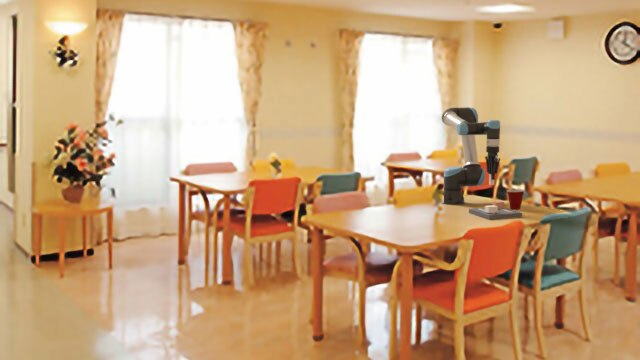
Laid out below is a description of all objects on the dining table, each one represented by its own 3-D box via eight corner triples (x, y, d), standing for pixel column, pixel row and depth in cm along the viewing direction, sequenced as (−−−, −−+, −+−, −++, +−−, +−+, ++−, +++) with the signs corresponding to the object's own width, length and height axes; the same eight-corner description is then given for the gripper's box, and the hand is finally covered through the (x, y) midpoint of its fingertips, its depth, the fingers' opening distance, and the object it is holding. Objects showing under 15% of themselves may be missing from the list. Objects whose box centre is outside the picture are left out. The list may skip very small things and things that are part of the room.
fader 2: (491, 207, 389) (492, 201, 388) (500, 206, 391) (500, 200, 390) (495, 208, 385) (495, 202, 385) (504, 207, 387) (504, 202, 386)
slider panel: (468, 212, 388) (468, 208, 387) (500, 210, 394) (500, 205, 394) (489, 219, 367) (489, 214, 367) (522, 217, 374) (522, 212, 373)
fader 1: (484, 211, 375) (484, 205, 374) (493, 211, 376) (493, 205, 376) (488, 213, 371) (488, 207, 370) (497, 212, 373) (497, 206, 372)
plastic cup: (513, 206, 406) (514, 188, 405) (527, 209, 397) (528, 190, 396) (501, 208, 400) (502, 189, 399) (515, 211, 391) (516, 191, 390)
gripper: (481, 145, 394) (480, 183, 397) (493, 147, 381) (492, 186, 385) (492, 144, 396) (491, 182, 399) (504, 146, 383) (503, 186, 387)
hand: (491, 184), depth 392 cm, fingers closed
